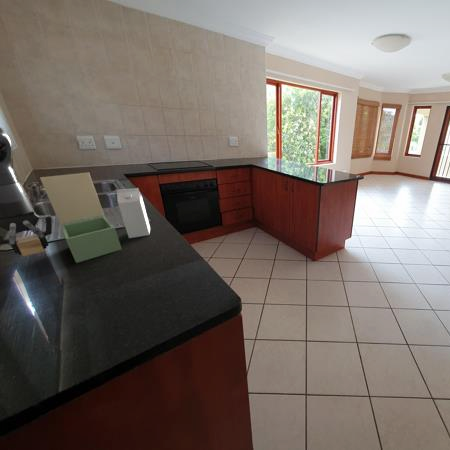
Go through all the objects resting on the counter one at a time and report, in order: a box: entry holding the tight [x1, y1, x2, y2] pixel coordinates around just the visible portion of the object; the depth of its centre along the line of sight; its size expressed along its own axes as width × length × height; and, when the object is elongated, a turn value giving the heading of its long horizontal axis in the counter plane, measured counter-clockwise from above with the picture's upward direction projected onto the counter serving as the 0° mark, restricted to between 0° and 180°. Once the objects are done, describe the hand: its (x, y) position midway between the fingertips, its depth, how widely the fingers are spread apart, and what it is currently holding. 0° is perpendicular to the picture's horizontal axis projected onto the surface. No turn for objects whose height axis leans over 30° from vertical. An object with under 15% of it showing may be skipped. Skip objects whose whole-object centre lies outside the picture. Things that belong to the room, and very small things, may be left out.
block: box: [16, 234, 45, 257], centre depth 74 cm, size 5×5×5 cm
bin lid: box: [39, 172, 105, 225], centre depth 86 cm, size 16×13×5 cm
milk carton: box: [115, 187, 151, 239], centre depth 94 cm, size 7×7×19 cm
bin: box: [60, 215, 122, 264], centre depth 85 cm, size 16×13×9 cm
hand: (33, 250), depth 74 cm, fingers closed on block, 4 cm apart
